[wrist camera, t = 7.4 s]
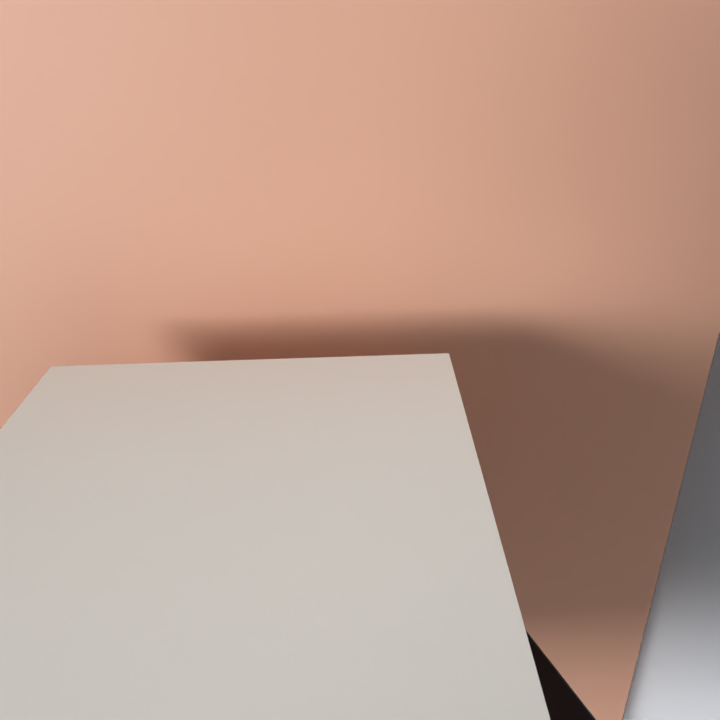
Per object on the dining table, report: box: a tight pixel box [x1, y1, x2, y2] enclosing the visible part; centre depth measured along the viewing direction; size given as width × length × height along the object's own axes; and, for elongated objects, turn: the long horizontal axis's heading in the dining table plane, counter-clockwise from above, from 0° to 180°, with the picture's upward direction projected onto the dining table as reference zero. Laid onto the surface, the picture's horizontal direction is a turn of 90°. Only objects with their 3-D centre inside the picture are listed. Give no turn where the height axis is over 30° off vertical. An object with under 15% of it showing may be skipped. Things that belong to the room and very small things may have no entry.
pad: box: [0, 0, 720, 720], centre depth 11 cm, size 14×11×1 cm
